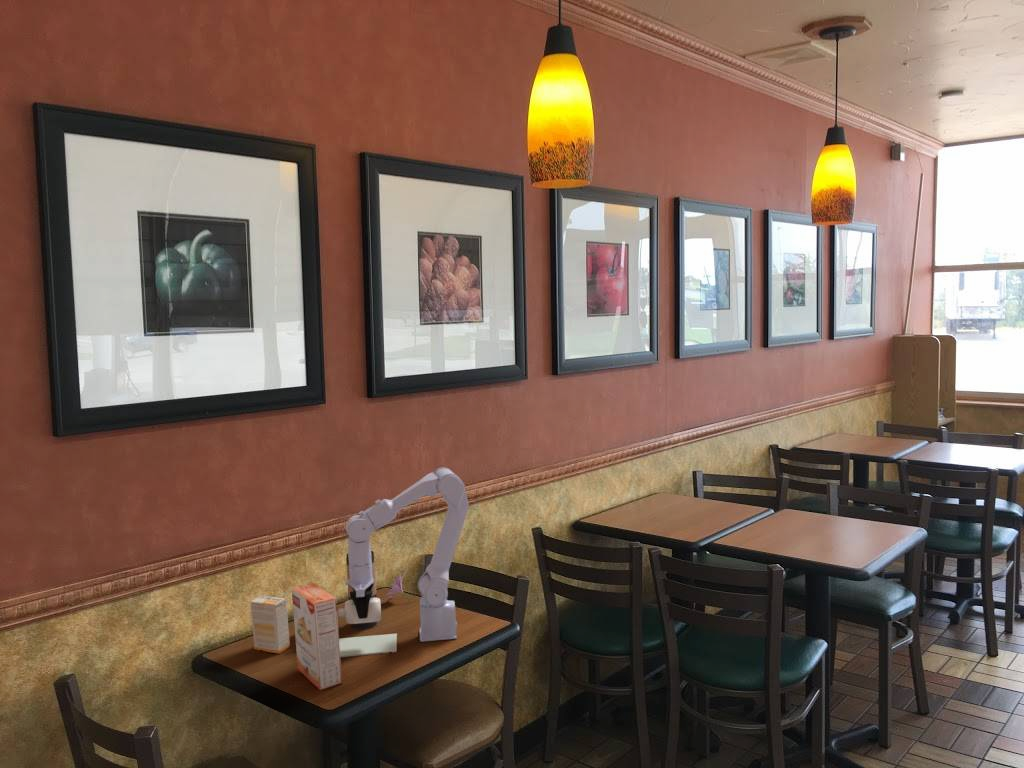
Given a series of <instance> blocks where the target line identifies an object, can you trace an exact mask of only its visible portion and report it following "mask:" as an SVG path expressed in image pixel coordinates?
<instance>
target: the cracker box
mask: <svg viewBox="0 0 1024 768" xmlns="http://www.w3.org/2000/svg"><path fill="white" fill-rule="evenodd" d="M291 597H292V599H291V600H292V608H293V609H292V611H293V622H294V633H295V635H294V637H295V648H296V657H297V658H296V661H297V670H298V671H299V672H300V673H301V674H302V675H304V677H306V679H307V680H308V681H310V682H311V684H313V685H314V686H315V687H316V688H317V689H318V690H319V691H322V690H325V689H329V688H333V687H335V686H338V685H340V684H342V683H343V679H342V678H343V677H342V663H341V657H340V647H339V639H340V635H339V634H340V633H339V621H338V619H339V618H338V607H337V605H338V604H337V598H336V597H334V596H333V595H332V594H330V593H328V592H327V591H326V590H324V589H322V588H321V587H320V586H318V585H317V584H315V582H312V583H309V584H303V585H299V586H295V587H292V588H291Z"/></svg>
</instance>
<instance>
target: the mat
mask: <svg viewBox="0 0 1024 768" xmlns="http://www.w3.org/2000/svg"><path fill="white" fill-rule="evenodd" d="M397 638H398V633H397V632H396V633H389V634H388V633H387V634H376V635H375V634H373V635H366V636H365V635H363V636H354V637H344V638H340V637H339V647H340V658H347V657H349V658H350V657H357V656H358V657H359V656H370V655H381V653H382V654H390V653H389V652H392V653H397V646H398V645H397V644H398V643H397V641H398V639H397Z"/></svg>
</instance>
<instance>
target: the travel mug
mask: <svg viewBox="0 0 1024 768" xmlns="http://www.w3.org/2000/svg"><path fill="white" fill-rule="evenodd" d="M374 553H375V552H374V551H373V550H371V559H372V575H373V579H374V584H373V587H372V590H371V591H373V593H372V596H371V598H378V596H377V594H378V593H377V581H376V567H375V554H374ZM345 558H346V559H345V560H346V576H347V578H346V580H350V572H349V556H348V552H347V553H346V557H345ZM352 591H353V589H352V587H351V585H347V595H348V597H347V598H348V600H351V597H350V592H352ZM350 625H351V626H350V627H352V628H353V629H356V630H367V629H366V628H368V629H371V628H374V627H375V626H376V625H378V621H377V622H369V623H358V624H350ZM373 626H374V627H373ZM370 627H371V628H370Z"/></svg>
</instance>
